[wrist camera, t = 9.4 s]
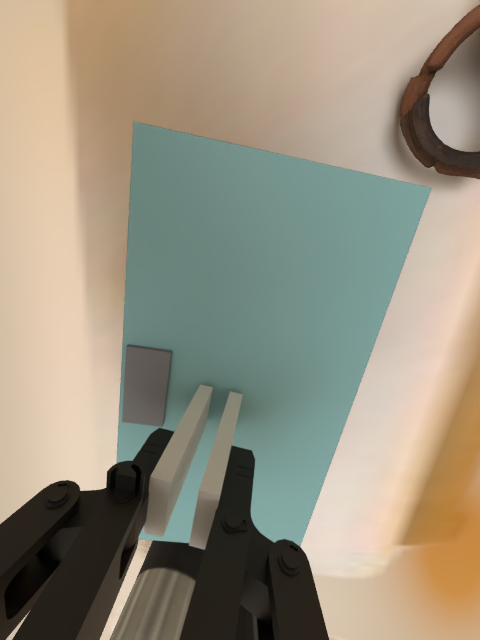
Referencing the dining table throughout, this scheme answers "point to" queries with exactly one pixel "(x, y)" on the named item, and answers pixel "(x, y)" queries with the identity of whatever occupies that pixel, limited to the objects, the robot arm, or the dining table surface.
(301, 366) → the lid
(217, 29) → the dining table surface
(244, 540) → the robot arm
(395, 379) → the dining table surface
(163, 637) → the milk frother
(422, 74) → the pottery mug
